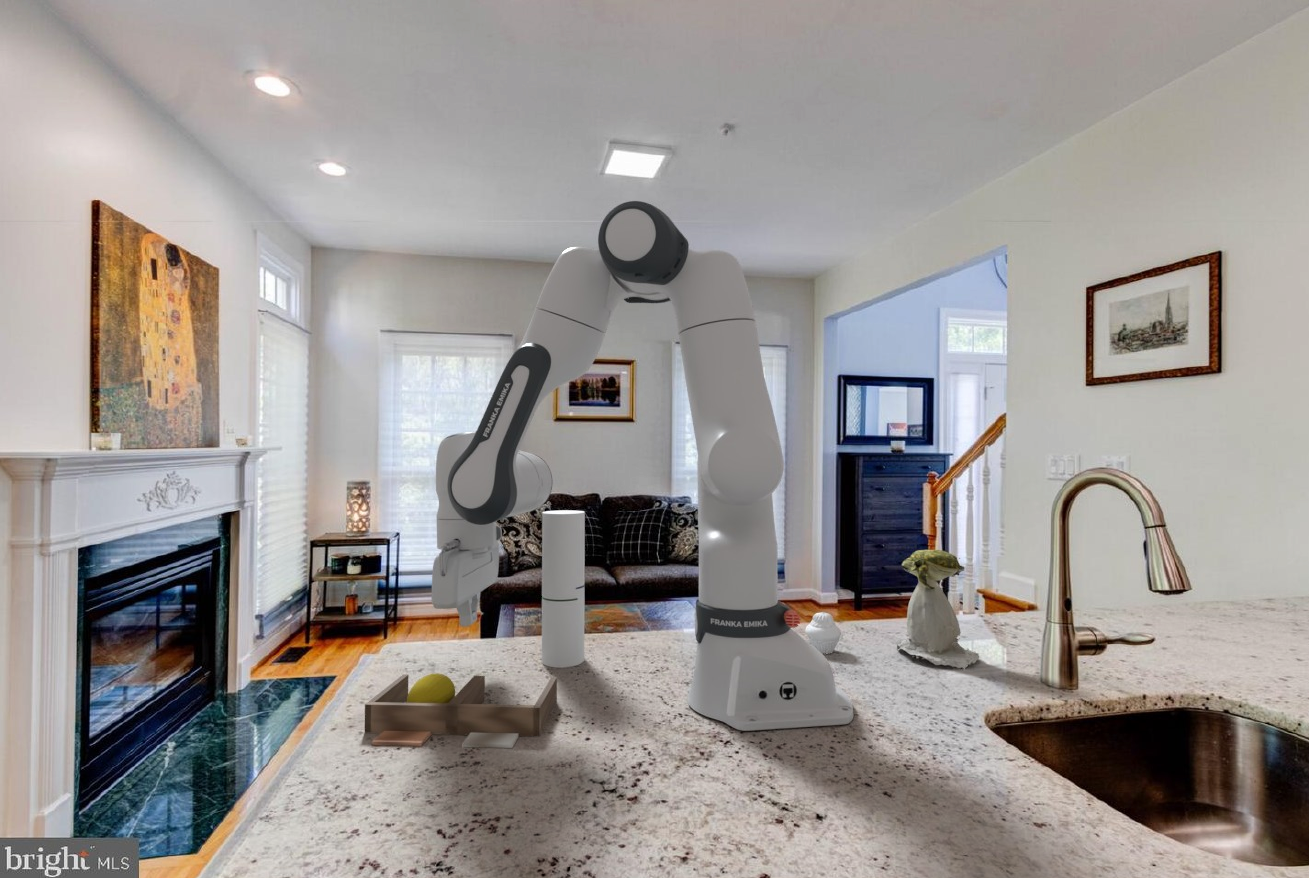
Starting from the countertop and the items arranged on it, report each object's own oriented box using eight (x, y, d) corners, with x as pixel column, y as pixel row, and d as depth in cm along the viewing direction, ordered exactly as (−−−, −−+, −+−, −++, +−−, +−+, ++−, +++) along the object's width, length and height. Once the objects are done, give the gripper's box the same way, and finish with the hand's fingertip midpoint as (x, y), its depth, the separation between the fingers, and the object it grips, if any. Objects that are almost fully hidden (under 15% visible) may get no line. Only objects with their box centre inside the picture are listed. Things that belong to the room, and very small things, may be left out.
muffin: (838, 658, 108) (837, 617, 108) (802, 654, 111) (801, 613, 111) (843, 648, 114) (843, 609, 114) (809, 644, 116) (809, 606, 117)
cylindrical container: (592, 658, 109) (593, 511, 109) (565, 670, 103) (566, 514, 103) (560, 651, 112) (561, 509, 113) (532, 662, 106) (533, 512, 107)
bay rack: (556, 702, 89) (556, 677, 89) (533, 748, 75) (533, 718, 75) (402, 699, 90) (402, 674, 90) (351, 744, 76) (351, 714, 76)
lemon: (453, 713, 88) (423, 739, 80) (421, 691, 89) (388, 715, 81) (471, 679, 88) (443, 701, 80) (439, 657, 88) (407, 677, 81)
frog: (934, 673, 101) (933, 557, 102) (881, 649, 114) (880, 546, 114) (993, 665, 105) (992, 553, 106) (935, 643, 117) (935, 543, 118)
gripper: (462, 544, 89) (465, 643, 89) (504, 527, 110) (506, 608, 109) (418, 545, 90) (420, 644, 89) (468, 528, 110) (470, 608, 110)
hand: (468, 624), depth 99 cm, fingers closed
